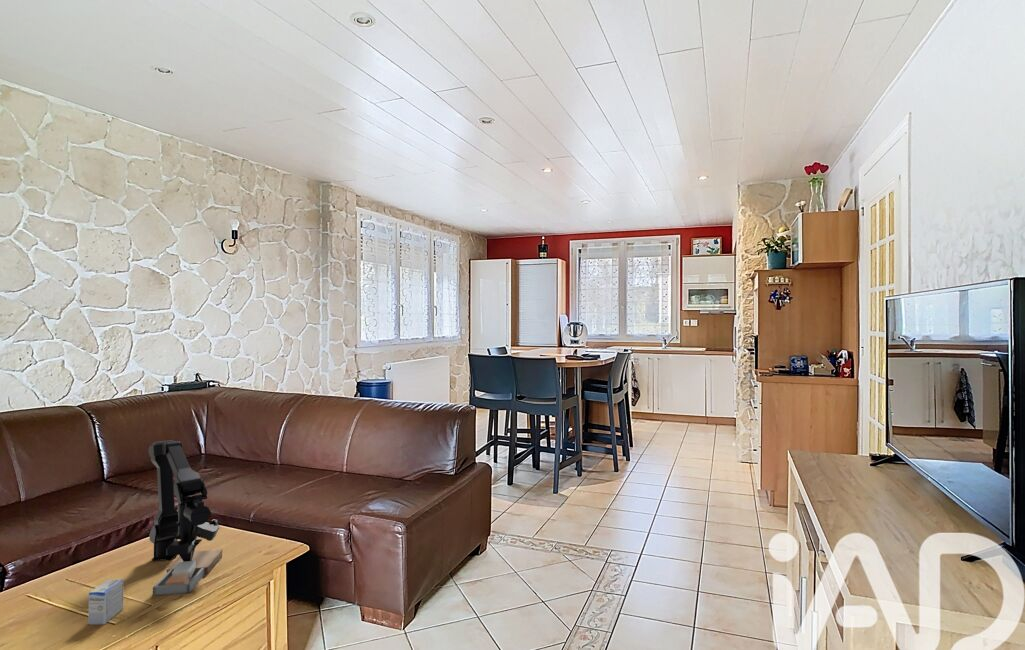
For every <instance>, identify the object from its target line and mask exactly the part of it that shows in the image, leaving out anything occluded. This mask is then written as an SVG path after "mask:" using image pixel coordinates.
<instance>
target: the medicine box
mask: <svg viewBox="0 0 1025 650" xmlns="http://www.w3.org/2000/svg"><path fill="white" fill-rule="evenodd" d="M123 609H124V579H118V578H117V579H114V578H113V579H106V580H105V581H103V582H102V583H100V584H98V586H97V587H95V588H94V589H93V590H91V591H90V592H88V613H87V614H88V617H87V618H88V621H87V622H88V625H91V626H92V625H93V626H94V625H106V624H107V623H108V622H109V621H110V620H112V619H113V618H114V617H115V616H116V615H117V614H118V613H120V612H121V611H122V610H123Z"/></svg>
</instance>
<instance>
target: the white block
mask: <svg viewBox="0 0 1025 650" xmlns="http://www.w3.org/2000/svg"><path fill="white" fill-rule="evenodd" d="M195 569H196V562H195V561H186V562H178V563H177V565H176V567H175V568H174V570H173V572H172V575H183V574H189V578H191V577H192V575H193V573H194V571H195Z"/></svg>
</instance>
